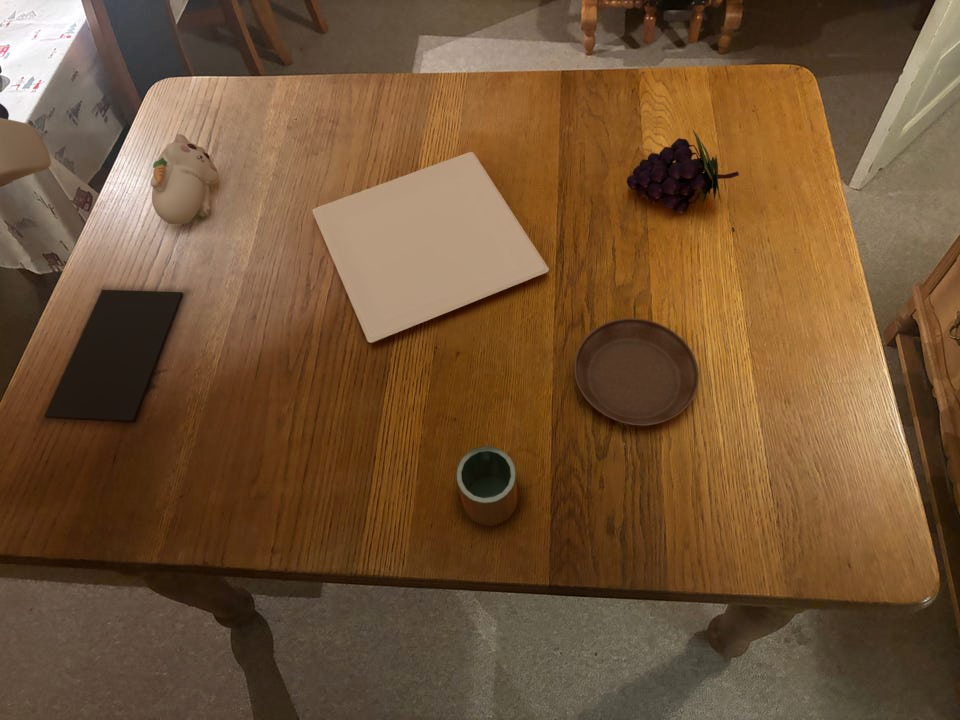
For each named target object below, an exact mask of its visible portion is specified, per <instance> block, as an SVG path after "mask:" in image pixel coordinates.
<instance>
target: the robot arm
mask: <svg viewBox="0 0 960 720" xmlns="http://www.w3.org/2000/svg"><path fill="white" fill-rule="evenodd" d="M51 164H52V158H51V156H50V153H49V151H48V148H47V146H46V144H45V142H44V140H43V138H42V137H41V134H40V133H39V132H38V130H37V129H36V127H34V126H33V125H31V124H29V123H26V122H22V121H18V120H13V119H10V118H8V119H3V118H0V187H3V186H7V185H9V184H12V183H13V182H14V181H17V180H19V179H22V178H25V177H27V176H31V175H33V174H36V173H39V172H42V171H45V170H48V169H49V168H50V166H51Z"/></svg>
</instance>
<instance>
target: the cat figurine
mask: <svg viewBox="0 0 960 720" xmlns="http://www.w3.org/2000/svg"><path fill="white" fill-rule="evenodd" d="M210 157H211V156H210V155H209V154H208V153H207V152H206V150H205V149H204V147H202V146H198V145H197V144H195V143H193V142H190V141H189V140H188V138H187V137H186V136H185V135H184V134H182V133H178V134H176V135H175V137H174V140H173V142H170V143H169V144H168V145H166V147H165V148H164V149H163V150H162V152H161V153H160V155H159V156H158V158H157V160H155V161H154V162H153V165H152V168H153V171H152V174H153V175H152V177H151V178H150V181H149V182H150V186H151V187H152V190H151V202H152V207H153V210H154V211H155V214H157V216H158V217H159V218H160V219H161V220H162V221H164V222H165V223H167V224H169V225H172V226H180V225H185V224H187V223H188V222H190V221H191V220H192V219H193V218H194V217H195V216H197V214H198V215H199V217H201V218H205V217H206V216H208V215H209V211H210V209H211V201H212V199H211V192H210V188H209V187H211V185H213V184H215V183H217V182H218V181H219V179H220V174H219V171H218V169H217V167H216V165H215V164H214V163H213V161H212V159H211V158H210Z"/></svg>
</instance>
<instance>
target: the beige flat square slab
mask: <svg viewBox="0 0 960 720" xmlns="http://www.w3.org/2000/svg"><path fill="white" fill-rule="evenodd" d="M311 212H312V214H313V217H314V219H315V221H316V223H317V226H318V228H319V231H320V233H321V236H322V237H323V240H324V242H325V244H326V247H327V249H328V252H329V254H330V257H331V258H332V261H333V263H334V266H335V268H336V270H337V272H338V275H339V277H340V280H341V282H342V285H343V287H344V289H345V292H346V294H347V296H348V298H349V301H350V303H351V306H352V308H353V310H354V313H355V315H356V317H357V319H358V322H359V324H360V327H361V329H362V331H363V333H364V336H365V339H366V341H367V343H371V344H373V343H375V342H377V341H380V340H383V339H385V338H387V337H390V336H393V335H395V334H397V333H399V332H402V331H404V330H408V329H410V328H413V327H414V326H416V325H420V324H421V323H424V322H427V321H430V320H431V319H434V318H437V317H440V316H442V315H444V314H447V313H449V312H452V311H454V310H457V309H460V308H461V307H465V306H467V305H469V304H472V303H474V302H477V301H479V300H482V299H485V298H486V297H489V296H492V295H494V294H497V293H499V292H501V291H505V290H507V289H509V288H511V287H514V286H517V285H519V284H522V283H524V282H527V281H529V280H532V279H534V278H536V277H539V276H542V275H544V274H546V273H548V272H549V270H550V268H549V267H548V265H547V264H546V262H545V261H544V258H543V257H542V256H541V255H540V253H539V251H538V249H537V248H536V247H535V245H534V243H533V242H532V240H531V239H530V237H529V236H528V234H527V233H526V231H525V230H524V228H523V227H522V224H521V223H520V221H519V220H518V219H517V217H516V216H515V214H514V212H513V211H512V210H511V208H510V206H509V205H508V203H507V202H506V201H505V199H504V197H503V196H502V194H501V192H500V191H499V189H498V188H497V186H496V185H495V184H494V181H493V179H492V178H491V177H490V176H489V174H488V172H487V171H486V169H485V168H484V167H483V165H482V163H481V162H480V160H479V159H478V157H477V155H476V154H475V153H474V152H473V151H469V152H466V153H463V154H460V155H457V156H455V157H452V158H449V159H446V160H444V161H441V162H438V163H435V164H433V165H430V166H427V167H425V168H422V169H419V170H416V171H413V172H411V173H408V174H406V175H402V176H400V177H397V178H394V179H391V180H389V181H385V182H383V183H380V184H378V185H374V186H372V187H369V188H367V189H364V190H361V191H358V192H355V193H353V194H350V195H347V196H345V197H341V198H339V199H336V200H333V201H331V202H328V203H325V204H323V205H320V206H317V207H314V208H313V209H312V211H311Z"/></svg>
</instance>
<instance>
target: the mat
mask: <svg viewBox="0 0 960 720" xmlns="http://www.w3.org/2000/svg"><path fill="white" fill-rule="evenodd" d="M98 295H99V296H98V298H97V300H96V302H95V304H94V306H93V308H92V310H91V313H90V314H89V315H90V316H89V318H88V320H87V321H86V324H85V326H84V328H83V330H82V332H81V335H80V337H79V339H78V341H77V343H76V346H75V348H74V350H73V353H72V355H71V357H70V360H69V361H68V364H67V366H66V368H65V369H64V372H63V374H62V376H61V378H60V381H59V383H58V385H57V387H56V389H55V392H54V394H53V396H52V397H51V400H50V403H49V405H48V407H47V408H46V411H45V414H44V417H45V418H47V419H62V420H63V419H65V420H83V421H85V420H86V421H102V422H103V421H104V422H105V421H106V422H123V423H124V422H125V423H135V422H136V420H137V417H138V415H139V412H140V409H141V407H142V404H143V401H144V399H145V396H146V393H147V391H148V388H149V386H150V383H151V380H152V378H153V375H154V373H155V369H156V367H157V364H158V362H159V359H160V356H161V355H162V351H163V349H164V346H165V344H166V340H167V338H168V336H169V334H170V330H171V327H172V326H173V323H174V320H175V317H176V315H177V312H178V310H179V306H180V304H181V302H182V298H183V297H184V293H183V292H182V291H159V290H127V289H126V290H125V289H101V292H100V293H99V294H98Z"/></svg>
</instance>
